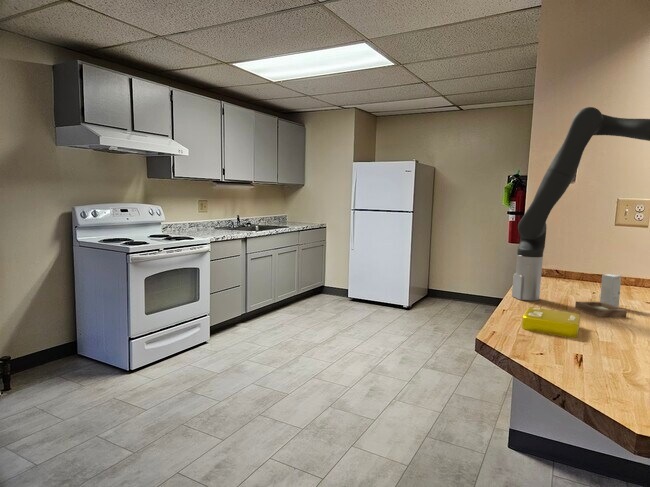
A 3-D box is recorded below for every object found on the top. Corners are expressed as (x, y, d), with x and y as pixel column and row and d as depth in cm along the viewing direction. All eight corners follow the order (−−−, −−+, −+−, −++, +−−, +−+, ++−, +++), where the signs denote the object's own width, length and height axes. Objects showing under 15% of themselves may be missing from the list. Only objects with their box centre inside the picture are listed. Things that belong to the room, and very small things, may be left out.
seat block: (598, 317, 145) (599, 310, 145) (575, 308, 157) (575, 301, 157) (626, 317, 146) (626, 310, 146) (600, 308, 158) (601, 301, 158)
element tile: (577, 340, 123) (578, 324, 122) (520, 330, 131) (521, 315, 130) (579, 327, 135) (580, 312, 135) (527, 318, 143) (528, 305, 143)
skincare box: (611, 309, 157) (615, 276, 156) (598, 306, 161) (601, 274, 159) (619, 307, 161) (622, 275, 159) (606, 304, 164) (609, 273, 163)
